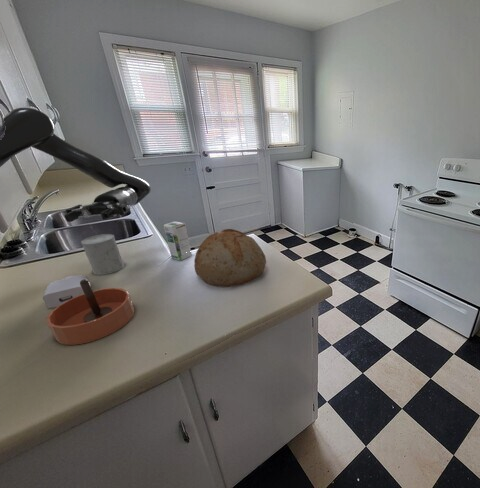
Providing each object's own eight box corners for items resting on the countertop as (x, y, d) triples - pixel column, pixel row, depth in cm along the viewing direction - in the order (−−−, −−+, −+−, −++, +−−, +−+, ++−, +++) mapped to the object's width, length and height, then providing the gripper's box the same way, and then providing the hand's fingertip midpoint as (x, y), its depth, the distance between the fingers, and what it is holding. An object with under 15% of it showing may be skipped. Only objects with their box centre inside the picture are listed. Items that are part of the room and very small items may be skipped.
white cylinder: (124, 260, 109) (114, 232, 104) (124, 270, 101) (113, 240, 97) (94, 267, 104) (82, 237, 99) (92, 277, 97) (79, 246, 92)
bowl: (44, 354, 64) (34, 336, 62) (67, 313, 78) (59, 297, 76) (130, 330, 71) (124, 314, 69) (137, 297, 85) (132, 282, 83)
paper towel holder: (79, 327, 72) (61, 288, 67) (90, 312, 77) (74, 275, 72) (108, 322, 73) (92, 283, 68) (116, 308, 79) (102, 272, 74)
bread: (189, 266, 104) (181, 230, 98) (247, 250, 116) (243, 217, 110) (208, 298, 84) (199, 255, 78) (275, 275, 97) (272, 237, 91)
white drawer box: (92, 278, 96) (87, 298, 85) (57, 286, 91) (47, 309, 80) (87, 266, 94) (82, 285, 83) (51, 274, 89) (41, 295, 78)
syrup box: (170, 258, 110) (162, 225, 104) (183, 252, 115) (175, 220, 109) (180, 261, 108) (172, 227, 102) (192, 255, 113) (185, 222, 107)
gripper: (85, 192, 85) (49, 205, 71) (135, 190, 88) (110, 202, 74) (93, 215, 88) (60, 232, 74) (141, 212, 91) (119, 228, 77)
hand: (85, 217), depth 74 cm, fingers open, 8 cm apart
